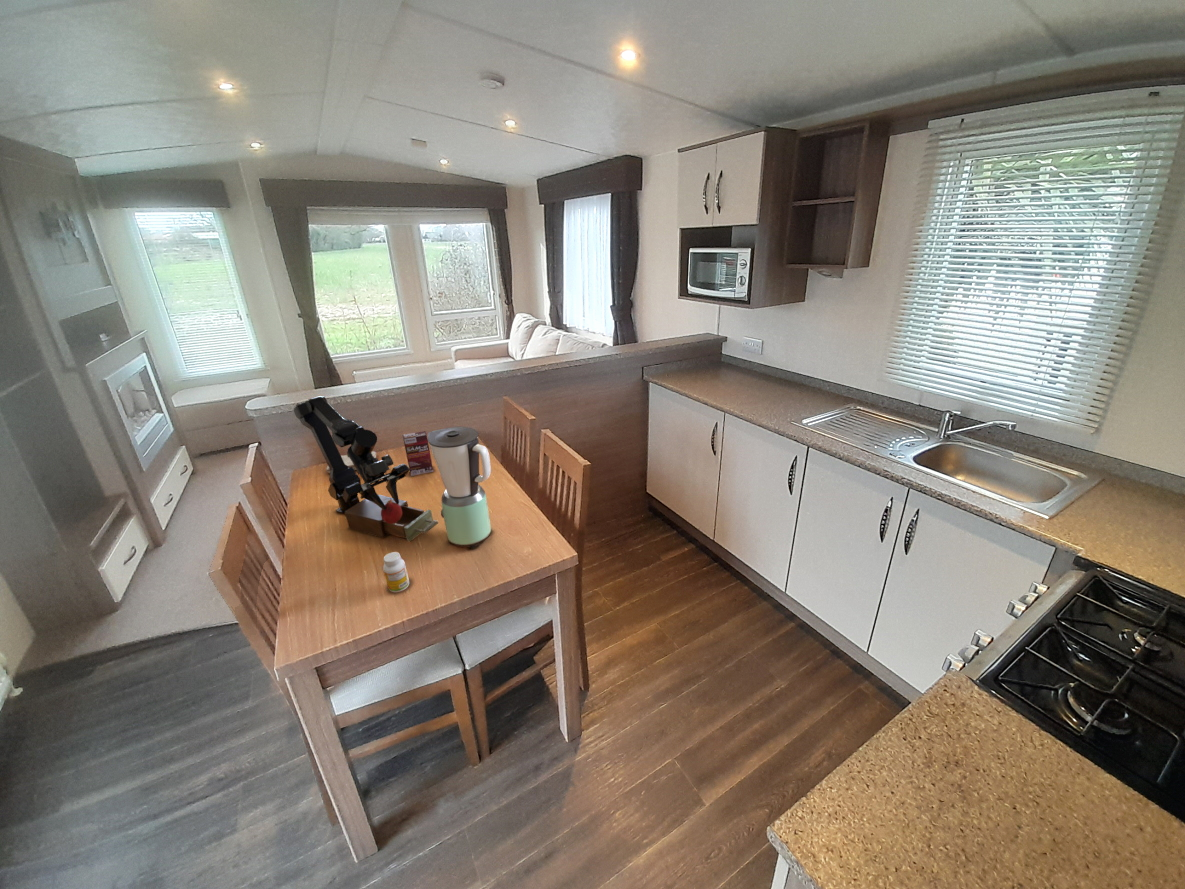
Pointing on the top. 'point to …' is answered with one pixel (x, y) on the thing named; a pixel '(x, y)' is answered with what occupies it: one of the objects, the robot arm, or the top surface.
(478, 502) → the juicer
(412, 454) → the supplement box
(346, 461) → the washcloth
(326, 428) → the robot arm
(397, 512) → the onion
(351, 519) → the cabinet
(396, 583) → the supplement bottle
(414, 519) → the drawer
